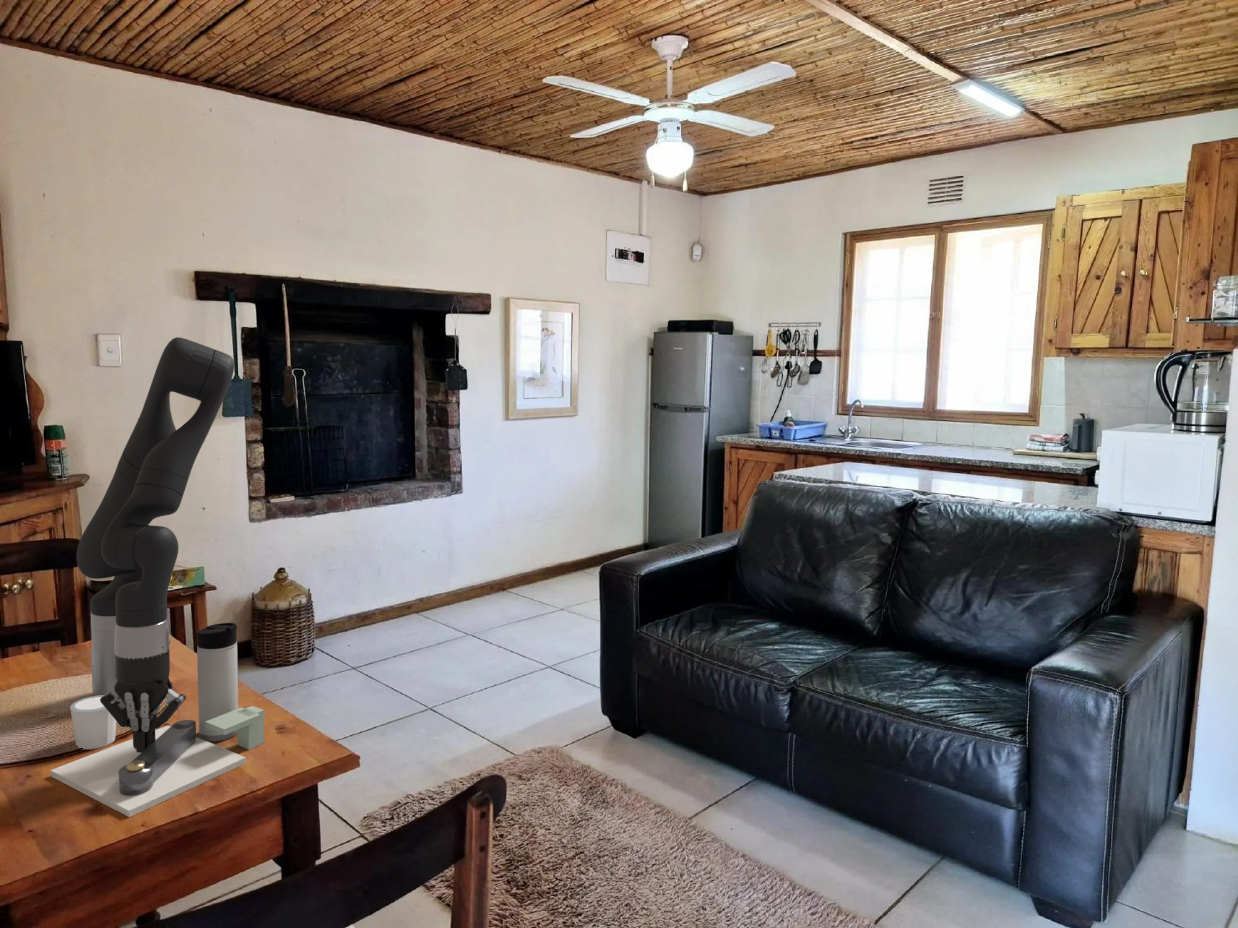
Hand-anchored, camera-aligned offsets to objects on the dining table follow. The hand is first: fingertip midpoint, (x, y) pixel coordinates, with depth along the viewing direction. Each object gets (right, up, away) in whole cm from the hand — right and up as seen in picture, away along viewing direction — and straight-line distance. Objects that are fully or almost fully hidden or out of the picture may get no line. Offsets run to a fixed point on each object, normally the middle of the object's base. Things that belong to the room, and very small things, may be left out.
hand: (144, 750), depth 131 cm
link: (+3, -2, -1) cm, 4 cm away
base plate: (+2, -3, -1) cm, 3 cm away
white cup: (-13, -1, +7) cm, 15 cm away
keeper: (+12, -2, +6) cm, 14 cm away
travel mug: (+6, -2, +12) cm, 13 cm away
